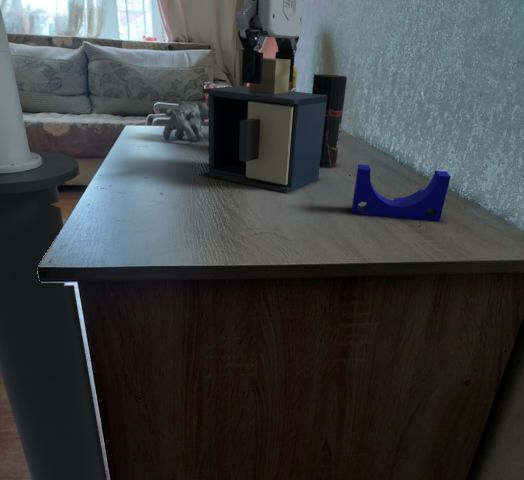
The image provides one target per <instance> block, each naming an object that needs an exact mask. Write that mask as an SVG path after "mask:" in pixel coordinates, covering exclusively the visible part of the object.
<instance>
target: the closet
mask: <svg viewBox="0 0 524 480" xmlns="http://www.w3.org/2000/svg"><path fill="white" fill-rule="evenodd" d="M249 87H250V85H235V86H222V87H211V88H210V87H209V88H203V89H202V93H203V94H205V95H206V94H207V95H208V97H207V101H208V102H207V104H208V105H207V107H208V116H207V119H208V121H207V123H208V170H207V171H204V172H203V176H204V177H208V178H214V179H218V180H219V179H220V180H223V181H227V182H233V183H236V184H237V183H238V184H242V185H246V186H252V187H257V188H262V189H266V190H271V191H276V192H280V193H285V194H286V193H287V194H288V193H290V192H292V191H295V190H297V189H299V188H302V187H305V186H306V185H309V184H312V183H314V182H316V181H318V180H319V177H320V176H319V175H320V168H321V167H320V158H321V149H322V140H323V131H324V122H325V113H326V104H327V95H321V94H312V92H301V91H295V92H294V91H288V93H279V94H270V93H261V92H252V91H249ZM248 101H253V102H261V103H269V104H277V105H285V106H293V118H292V130H291V143H290V156H289V169H288V182H287V185H283V184H278V183H273V182H268V181H263V180H258V179H253V178H248V177H246V162H244V161H239V144H240V120H246V119H248Z"/></svg>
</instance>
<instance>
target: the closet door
mask: <svg viewBox="0 0 524 480" xmlns="http://www.w3.org/2000/svg"><path fill="white" fill-rule="evenodd" d="M292 118H293V106H285V105H277V104H269V103H261V102H253V101H248V119H246V120H240V144H239V161H244V162H246V177H248V178H253V179H258V180H263V181H268V182H273V183H278V184H283V185H287V182H288V169H289V156H290V143H291V130H292Z"/></svg>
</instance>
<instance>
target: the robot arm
mask: <svg viewBox="0 0 524 480" xmlns="http://www.w3.org/2000/svg"><path fill="white" fill-rule="evenodd" d="M303 1H304V0H243V5H242V7H241V8H240V9H239V10H238V11H237V12H236V13H235V21H236V25H237V30H238V32H237V35H238V39H239V41H240V50H241V52H242V60H241V61H242V64H241V82H242V83H244V84H250V83H251V84H261V83H262V70H263V58H264V52H261V51H262V48H263V45H264V43H265V41H266V38H274V40H275V43H276V46H277V50H278V51H275V55H274V56H275V57H274V58H276V59H288V60H290V74H289V82H292V81H293V71H294V67H295V57H296V53H297V50H298V47H297V45H298V42H299V40H300V35H301V33H302V20H303ZM14 67H15V66H14V62H13V57H12V53H11V48H10V43H9V38H8V33H7V28H6V25H5V20H4V16H3V13H2V9H1V8H0V174H8V173H17V172H23V171H28V170H32V169H35V168H38V167H40V166H41V165H42V158H41V156H40V155H38V154H36V153H32V152H30V150H31V149H30V146H29V140H28V136H27V131H26V124H25V119H24V115H23V109H22V103H21V100H20V93H19V88H18V84H17V78H16V74H15V68H14Z"/></svg>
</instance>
